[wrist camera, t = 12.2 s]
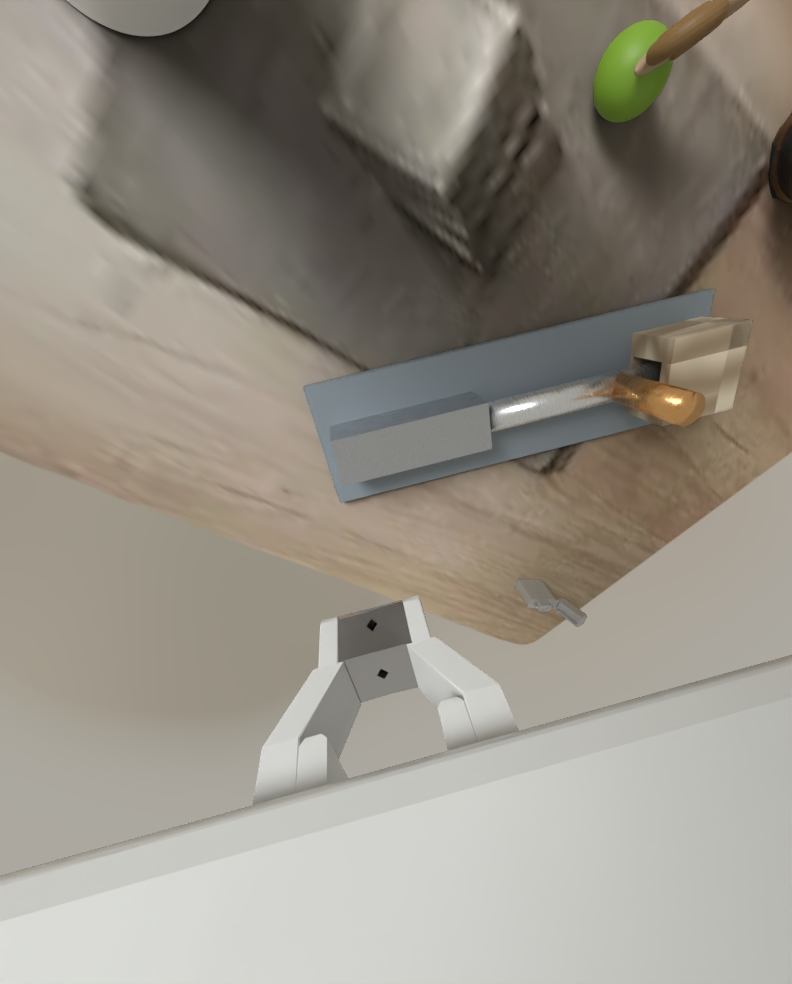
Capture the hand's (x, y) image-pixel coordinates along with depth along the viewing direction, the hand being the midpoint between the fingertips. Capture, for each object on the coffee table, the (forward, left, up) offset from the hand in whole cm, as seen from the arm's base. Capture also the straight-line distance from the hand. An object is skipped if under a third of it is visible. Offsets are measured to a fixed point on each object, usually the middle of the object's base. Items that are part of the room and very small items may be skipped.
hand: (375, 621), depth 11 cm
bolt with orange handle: (+6, +23, -31) cm, 39 cm away
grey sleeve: (+6, +5, -32) cm, 33 cm away
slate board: (+6, +18, -33) cm, 38 cm away
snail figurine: (-19, +29, -33) cm, 48 cm away
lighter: (+36, +21, -33) cm, 53 cm away
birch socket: (+6, +36, -32) cm, 48 cm away
